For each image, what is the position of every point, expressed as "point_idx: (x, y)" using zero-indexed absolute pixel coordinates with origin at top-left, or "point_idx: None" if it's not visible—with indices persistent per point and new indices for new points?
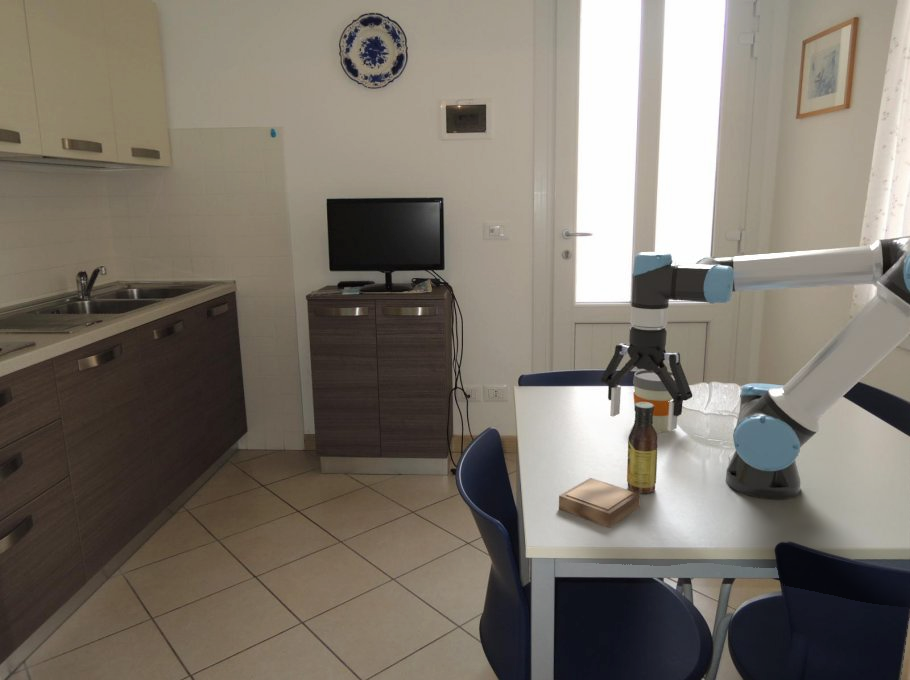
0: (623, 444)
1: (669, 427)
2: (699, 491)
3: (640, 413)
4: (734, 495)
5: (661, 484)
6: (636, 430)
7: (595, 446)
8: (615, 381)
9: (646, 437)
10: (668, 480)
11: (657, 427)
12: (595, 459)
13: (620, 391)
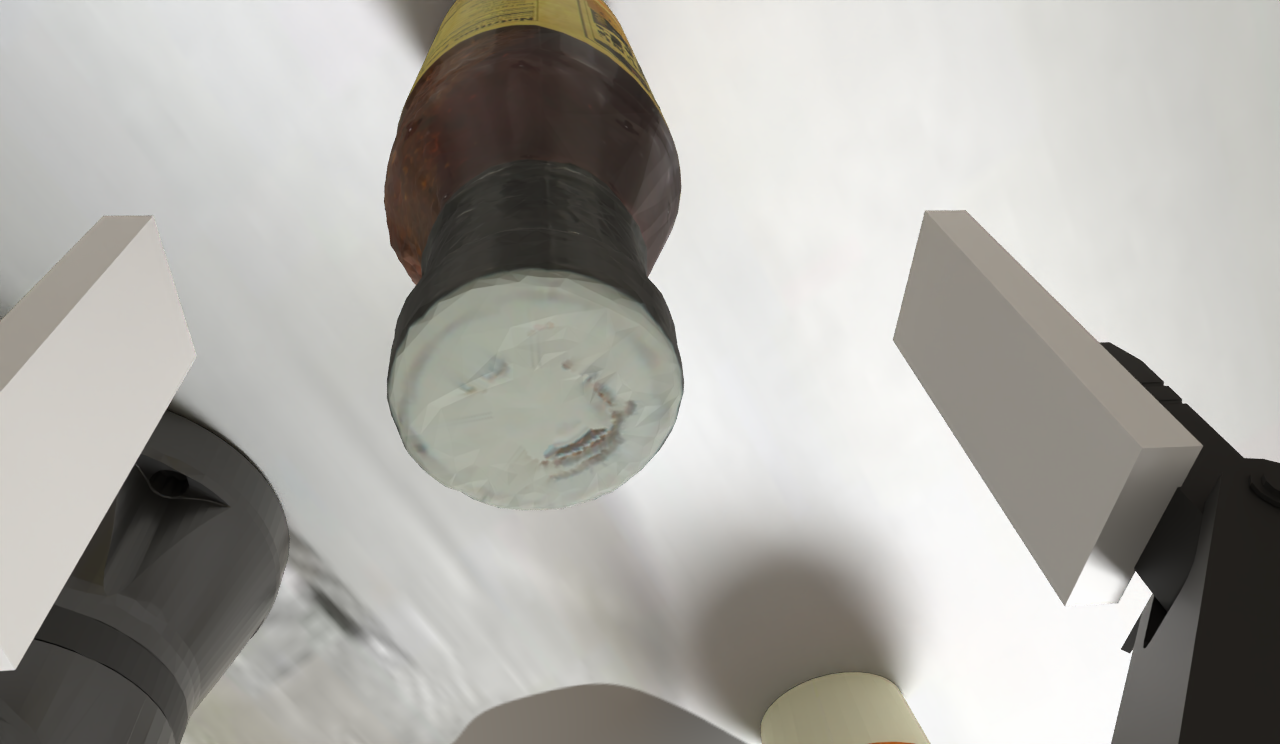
0: (882, 507)
1: (103, 235)
2: (259, 266)
3: (519, 230)
4: None
5: None
6: (558, 123)
7: None
8: (1229, 563)
9: (428, 114)
10: None
11: (802, 706)
12: None
13: (1021, 532)
